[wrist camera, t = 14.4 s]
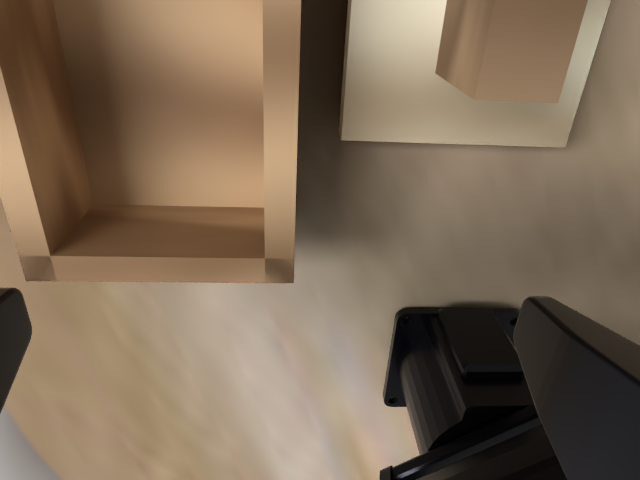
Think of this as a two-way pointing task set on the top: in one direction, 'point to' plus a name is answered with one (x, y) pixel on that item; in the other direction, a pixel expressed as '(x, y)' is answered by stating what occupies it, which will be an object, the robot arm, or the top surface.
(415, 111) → the lid
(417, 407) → the robot arm
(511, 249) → the top surface
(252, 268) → the toolbox
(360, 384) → the top surface
